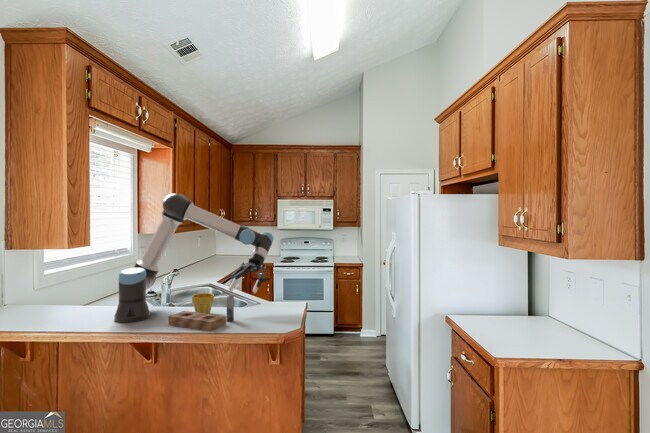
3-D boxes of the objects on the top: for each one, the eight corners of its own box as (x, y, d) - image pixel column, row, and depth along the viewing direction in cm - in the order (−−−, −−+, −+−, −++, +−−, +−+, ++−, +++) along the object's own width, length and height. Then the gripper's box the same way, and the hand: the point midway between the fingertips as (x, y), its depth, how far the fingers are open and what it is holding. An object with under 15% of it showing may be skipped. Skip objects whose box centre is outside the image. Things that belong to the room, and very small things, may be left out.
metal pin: (225, 321, 174) (225, 295, 174) (229, 319, 177) (229, 294, 177) (231, 322, 173) (231, 296, 172) (235, 320, 176) (235, 295, 175)
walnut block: (168, 324, 168) (168, 316, 168) (184, 319, 177) (184, 310, 177) (211, 331, 159) (211, 321, 159) (225, 324, 168) (226, 315, 168)
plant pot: (207, 318, 179) (207, 297, 179) (187, 316, 181) (187, 296, 181) (217, 312, 189) (217, 293, 189) (199, 311, 191) (199, 292, 191)
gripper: (281, 262, 194) (266, 297, 180) (240, 260, 203) (224, 293, 189) (276, 253, 189) (261, 288, 175) (235, 252, 198) (217, 285, 184)
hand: (241, 291), depth 182 cm, fingers open, 13 cm apart
